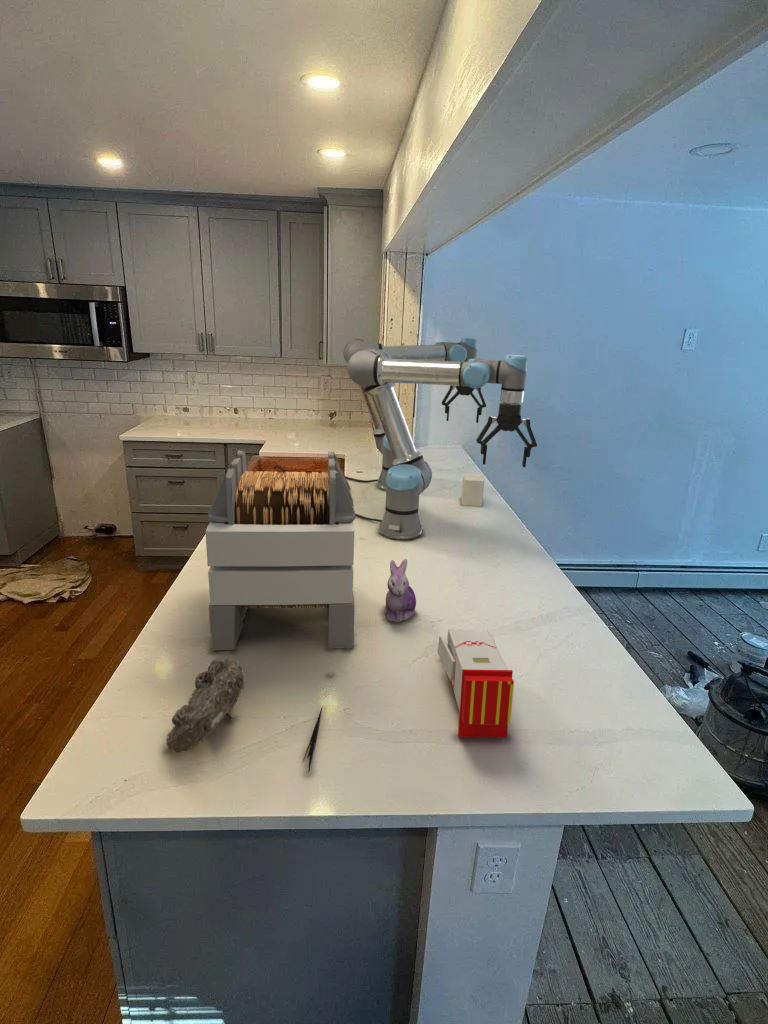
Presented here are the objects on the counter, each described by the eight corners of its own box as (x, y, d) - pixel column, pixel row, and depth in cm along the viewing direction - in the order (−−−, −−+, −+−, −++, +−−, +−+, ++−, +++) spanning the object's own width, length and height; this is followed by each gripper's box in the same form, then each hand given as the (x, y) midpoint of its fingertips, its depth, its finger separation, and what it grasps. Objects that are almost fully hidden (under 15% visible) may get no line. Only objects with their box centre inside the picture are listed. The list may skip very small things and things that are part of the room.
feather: (331, 679, 122) (336, 673, 122) (307, 777, 96) (313, 769, 95) (324, 675, 122) (329, 669, 121) (298, 772, 95) (304, 764, 95)
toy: (488, 613, 130) (523, 677, 101) (484, 667, 133) (517, 744, 104) (435, 612, 130) (455, 676, 101) (432, 666, 133) (451, 743, 103)
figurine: (392, 627, 141) (395, 572, 136) (374, 608, 149) (376, 556, 144) (425, 619, 145) (429, 566, 140) (405, 601, 154) (408, 550, 149)
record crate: (231, 583, 159) (223, 441, 145) (347, 582, 163) (350, 443, 149) (209, 653, 127) (196, 479, 114) (354, 649, 131) (359, 481, 117)
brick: (481, 506, 232) (484, 481, 229) (462, 505, 233) (464, 480, 229) (479, 499, 241) (482, 475, 237) (461, 498, 241) (463, 474, 237)
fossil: (192, 660, 117) (244, 628, 112) (224, 691, 120) (276, 661, 115) (142, 746, 98) (202, 712, 93) (182, 779, 101) (242, 748, 96)
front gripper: (547, 403, 191) (538, 464, 198) (472, 399, 193) (467, 459, 200) (551, 407, 184) (542, 470, 191) (473, 402, 186) (467, 465, 193)
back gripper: (493, 374, 257) (488, 421, 264) (438, 371, 258) (435, 418, 265) (495, 376, 249) (490, 424, 257) (438, 373, 251) (435, 421, 258)
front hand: (503, 465), depth 196 cm, fingers open, 13 cm apart
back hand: (462, 421), depth 261 cm, fingers open, 13 cm apart
